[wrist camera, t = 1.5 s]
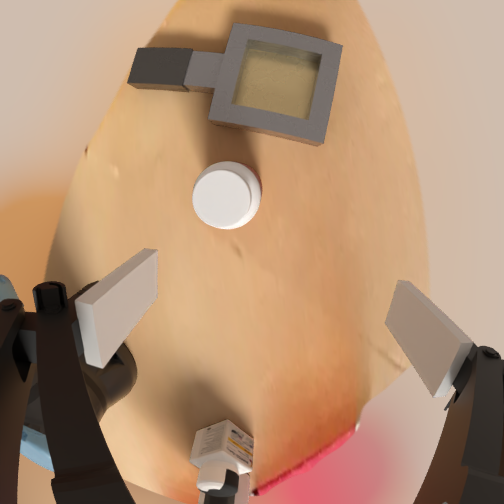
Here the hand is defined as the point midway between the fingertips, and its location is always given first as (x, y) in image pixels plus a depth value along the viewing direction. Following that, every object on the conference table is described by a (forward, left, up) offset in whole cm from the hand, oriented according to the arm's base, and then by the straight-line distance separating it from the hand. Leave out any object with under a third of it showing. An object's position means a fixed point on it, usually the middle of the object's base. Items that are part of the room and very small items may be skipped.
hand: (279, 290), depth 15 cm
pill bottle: (-5, +3, -20) cm, 21 cm away
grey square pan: (-8, +16, -20) cm, 27 cm away
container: (+1, -39, -20) cm, 44 cm away
